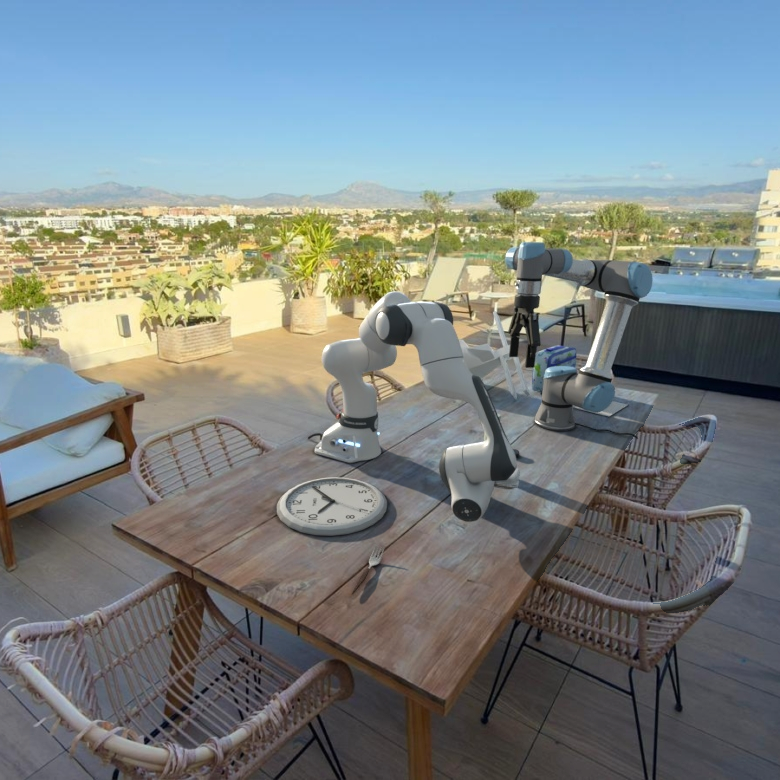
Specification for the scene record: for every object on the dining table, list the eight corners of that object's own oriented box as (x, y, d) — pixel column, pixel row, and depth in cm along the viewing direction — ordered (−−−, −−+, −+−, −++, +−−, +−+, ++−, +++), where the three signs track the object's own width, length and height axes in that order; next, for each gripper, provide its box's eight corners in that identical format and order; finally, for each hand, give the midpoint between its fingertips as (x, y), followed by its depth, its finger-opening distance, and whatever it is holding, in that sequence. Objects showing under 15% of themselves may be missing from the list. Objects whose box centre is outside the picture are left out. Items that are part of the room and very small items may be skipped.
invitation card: (608, 416, 214) (573, 407, 224) (608, 416, 214) (573, 408, 224) (628, 404, 229) (594, 396, 238) (628, 405, 229) (594, 397, 238)
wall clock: (392, 527, 129) (268, 531, 127) (391, 533, 130) (269, 537, 127) (383, 473, 158) (282, 475, 155) (383, 478, 158) (282, 480, 156)
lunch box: (548, 398, 236) (553, 353, 229) (527, 393, 243) (531, 349, 237) (575, 387, 253) (581, 344, 247) (555, 382, 260) (560, 341, 254)
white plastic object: (461, 429, 252) (437, 405, 227) (444, 352, 274) (420, 323, 250) (535, 404, 240) (518, 377, 215) (510, 326, 262) (492, 293, 237)
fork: (346, 594, 108) (346, 586, 107) (374, 552, 122) (374, 544, 122) (357, 598, 107) (357, 589, 107) (385, 554, 121) (385, 547, 121)
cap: (519, 453, 178) (519, 449, 177) (519, 459, 173) (519, 454, 173) (505, 452, 179) (505, 447, 178) (505, 457, 174) (505, 453, 174)
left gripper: (519, 478, 134) (523, 456, 147) (441, 464, 140) (452, 445, 153) (516, 499, 136) (521, 476, 149) (440, 485, 142) (451, 464, 155)
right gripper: (501, 289, 171) (496, 352, 178) (532, 300, 148) (525, 372, 154) (523, 289, 172) (517, 352, 179) (557, 300, 149) (549, 371, 155)
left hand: (486, 460), depth 151 cm, fingers open, 8 cm apart
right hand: (521, 361), depth 166 cm, fingers open, 13 cm apart
